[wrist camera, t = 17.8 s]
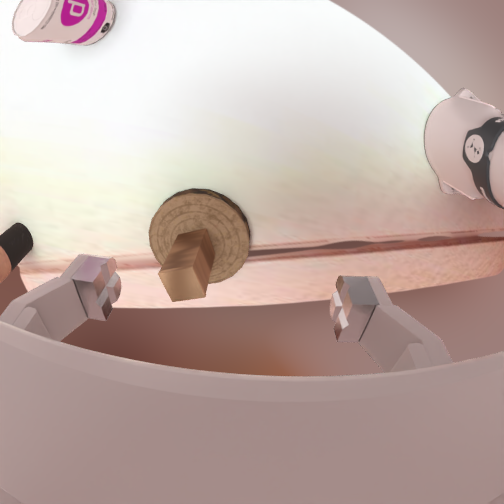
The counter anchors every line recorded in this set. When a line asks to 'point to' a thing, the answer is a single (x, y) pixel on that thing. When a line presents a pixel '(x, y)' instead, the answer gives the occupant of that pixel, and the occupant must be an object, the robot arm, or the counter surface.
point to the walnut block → (188, 266)
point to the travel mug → (13, 248)
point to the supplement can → (62, 21)
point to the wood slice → (200, 217)
